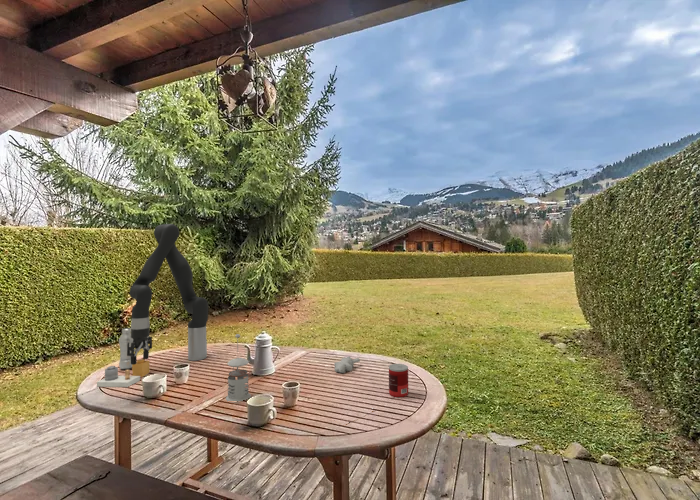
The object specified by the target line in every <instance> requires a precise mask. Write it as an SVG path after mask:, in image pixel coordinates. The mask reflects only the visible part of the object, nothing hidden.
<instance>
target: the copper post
mask: <svg viewBox="0 0 700 500" xmlns="http://www.w3.org/2000/svg"><path fill="white" fill-rule="evenodd" d="M124 376H125V380H128V379H130V376H131V368H129V369H124Z"/></svg>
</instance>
